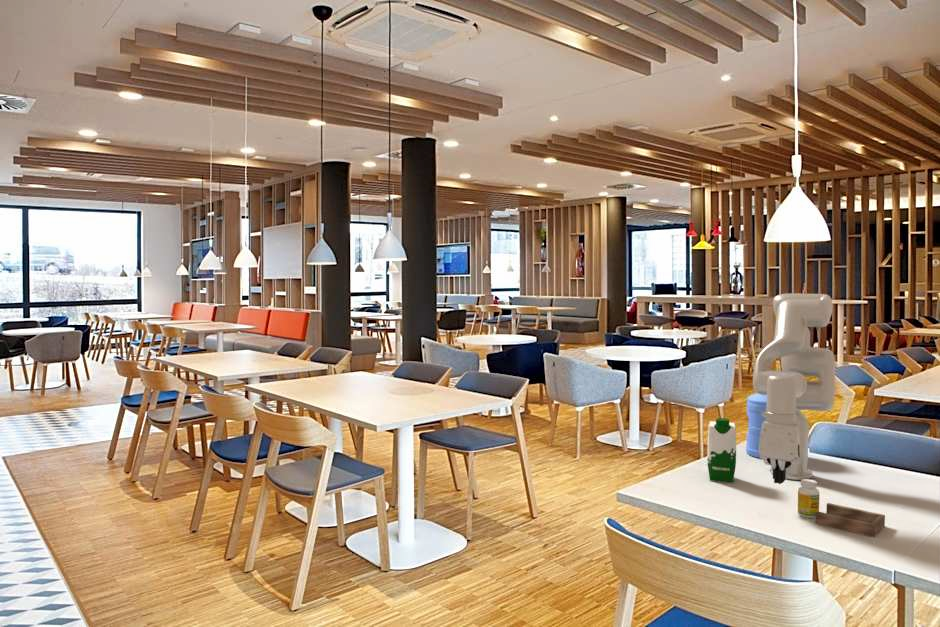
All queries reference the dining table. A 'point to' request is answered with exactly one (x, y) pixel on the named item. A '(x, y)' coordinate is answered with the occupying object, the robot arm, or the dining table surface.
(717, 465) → the milk carton
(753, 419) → the water jug
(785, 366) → the robot arm
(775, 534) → the dining table surface
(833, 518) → the u rest
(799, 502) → the supplement bottle
